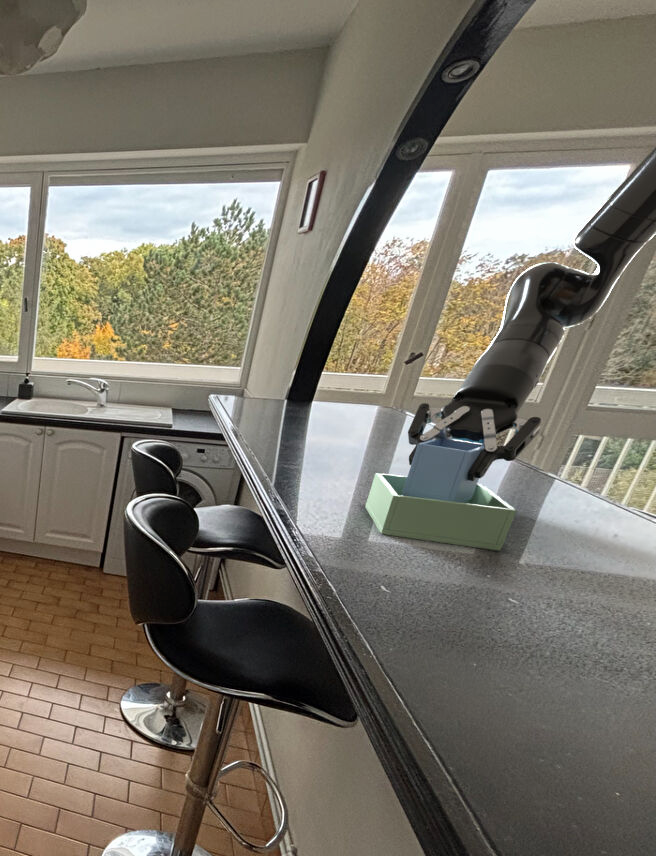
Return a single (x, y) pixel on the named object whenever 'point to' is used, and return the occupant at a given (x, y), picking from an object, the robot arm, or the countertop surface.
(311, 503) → the countertop surface
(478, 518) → the green tote
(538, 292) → the robot arm
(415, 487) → the small bin
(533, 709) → the countertop surface
